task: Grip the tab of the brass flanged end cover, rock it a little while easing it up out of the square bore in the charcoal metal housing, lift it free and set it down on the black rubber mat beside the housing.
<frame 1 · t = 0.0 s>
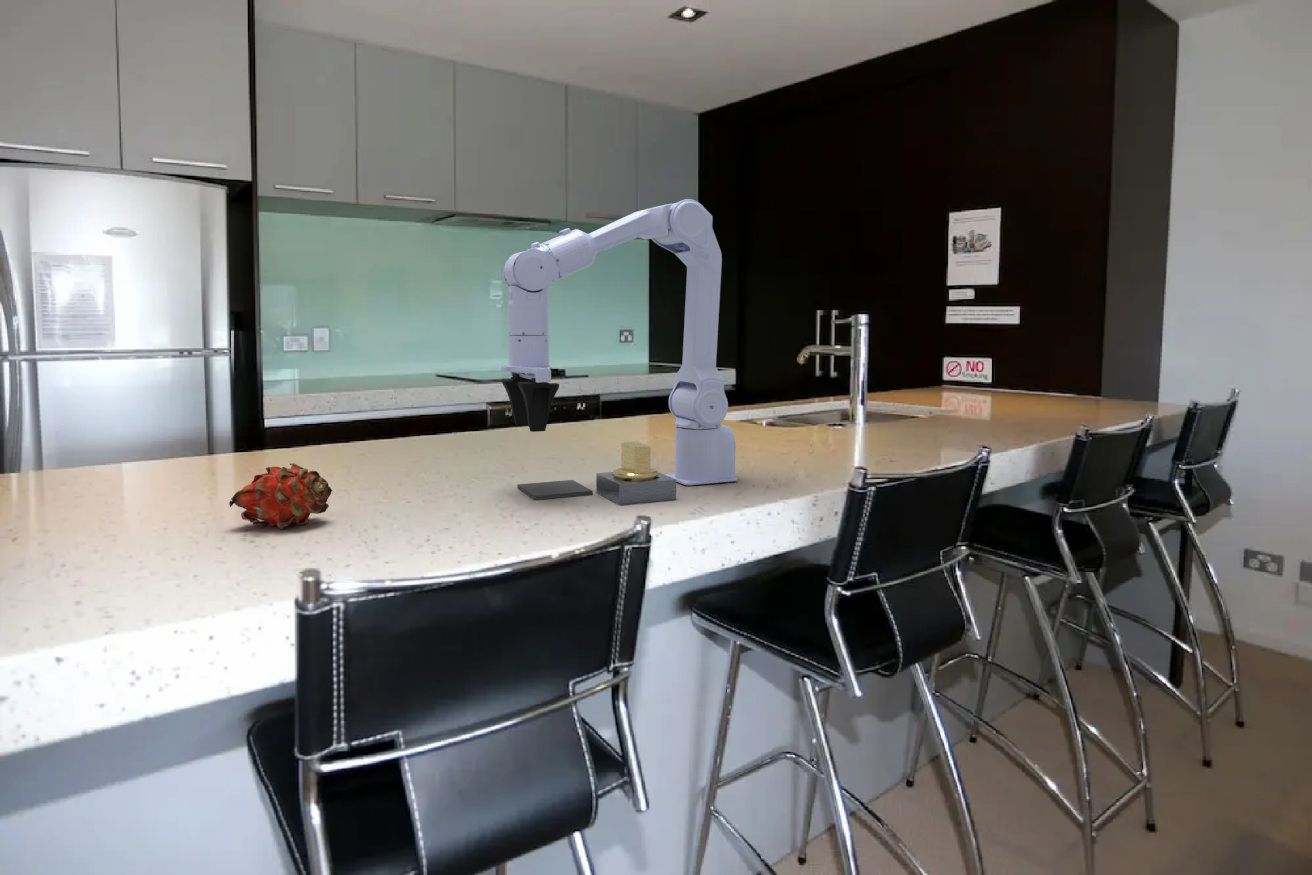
hand: (530, 427, 125), 10 cm above the counter, tool pointing down, fingers open, 7 cm apart
mat: (554, 491, 129), on the counter
dragon fruit: (283, 527, 107), on the counter
end cover: (635, 469, 125), in the housing
housing: (635, 496, 126), on the counter
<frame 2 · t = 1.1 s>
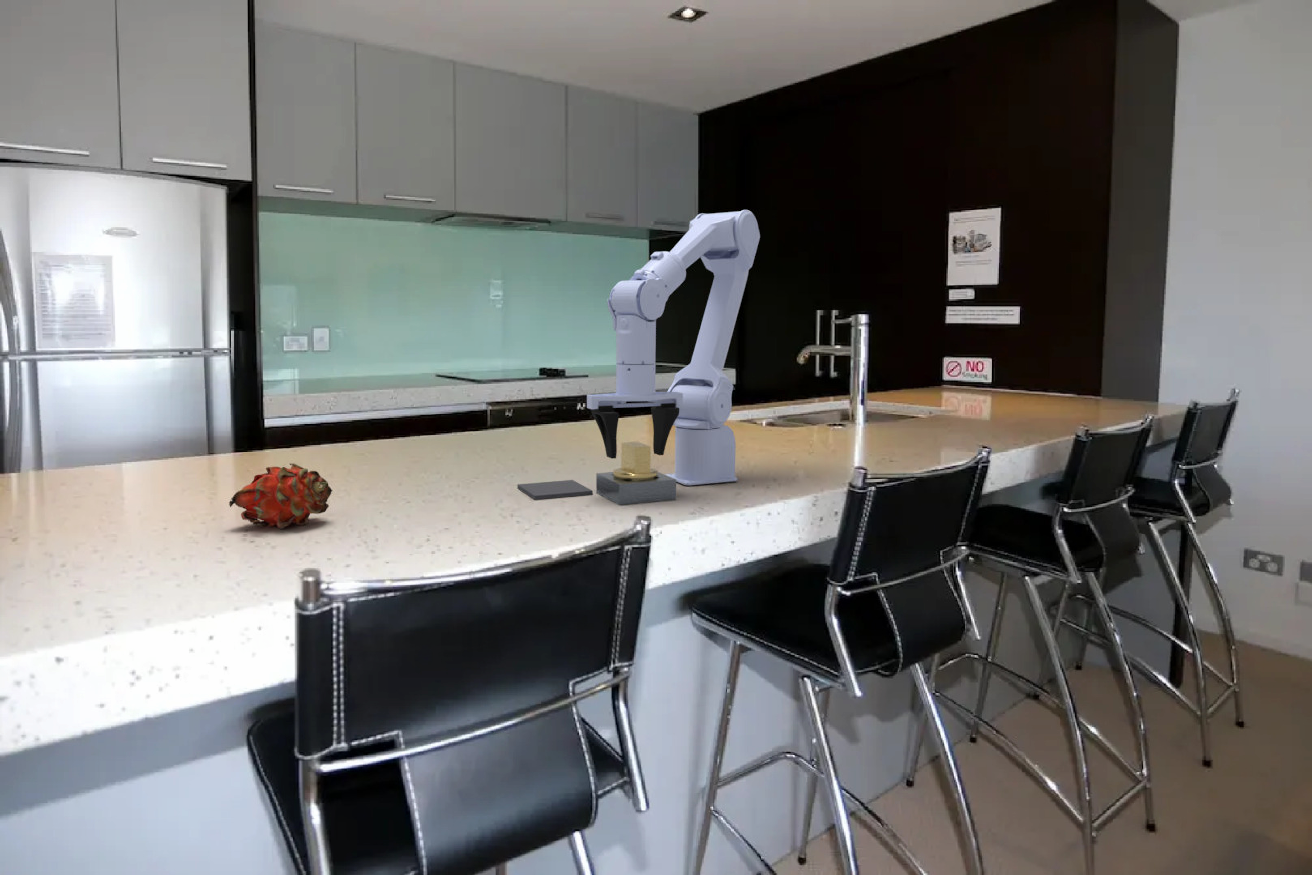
hand: (635, 455, 125), 6 cm above the counter, tool pointing down, fingers open, 7 cm apart
nothing on the counter moved.
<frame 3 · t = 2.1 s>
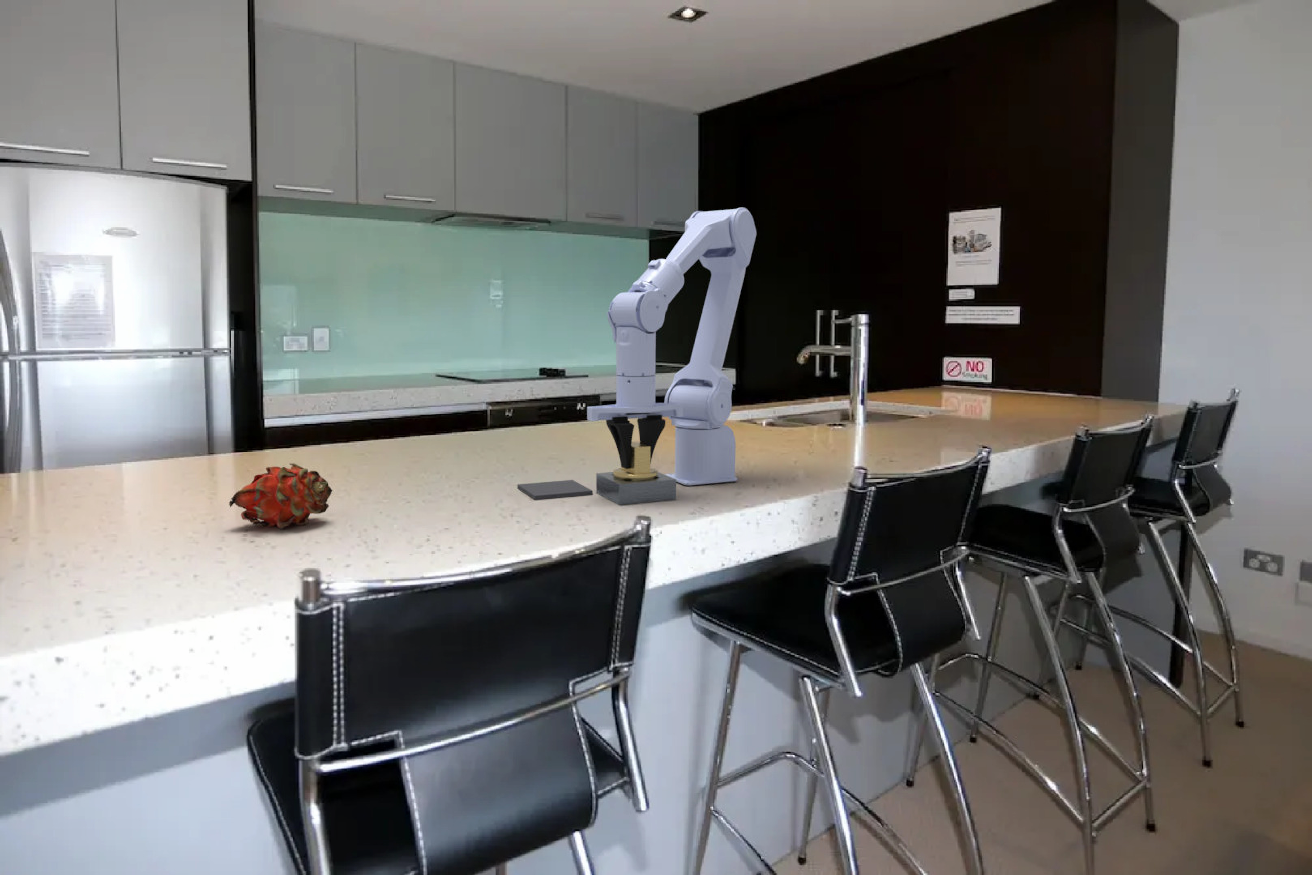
hand: (635, 467, 125), 4 cm above the counter, tool pointing down, fingers closed on end cover, 2 cm apart
end cover: (635, 469, 125), in the housing, touching gripper
everything else where it was.
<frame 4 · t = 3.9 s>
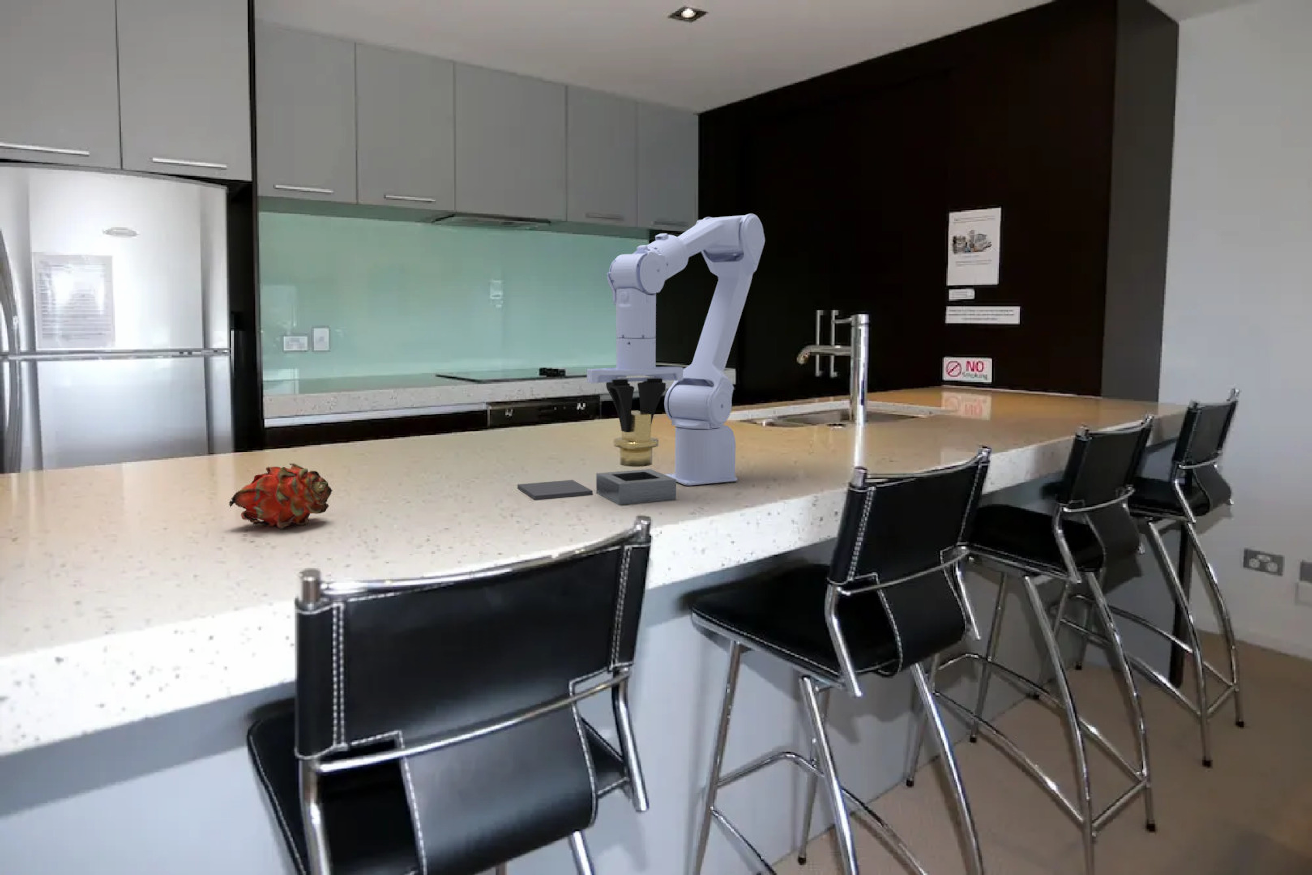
hand: (635, 430, 124), 10 cm above the counter, tool pointing down, fingers closed on end cover, 2 cm apart
end cover: (636, 438, 124), point 9 cm above the counter, touching gripper
everything else where it was.
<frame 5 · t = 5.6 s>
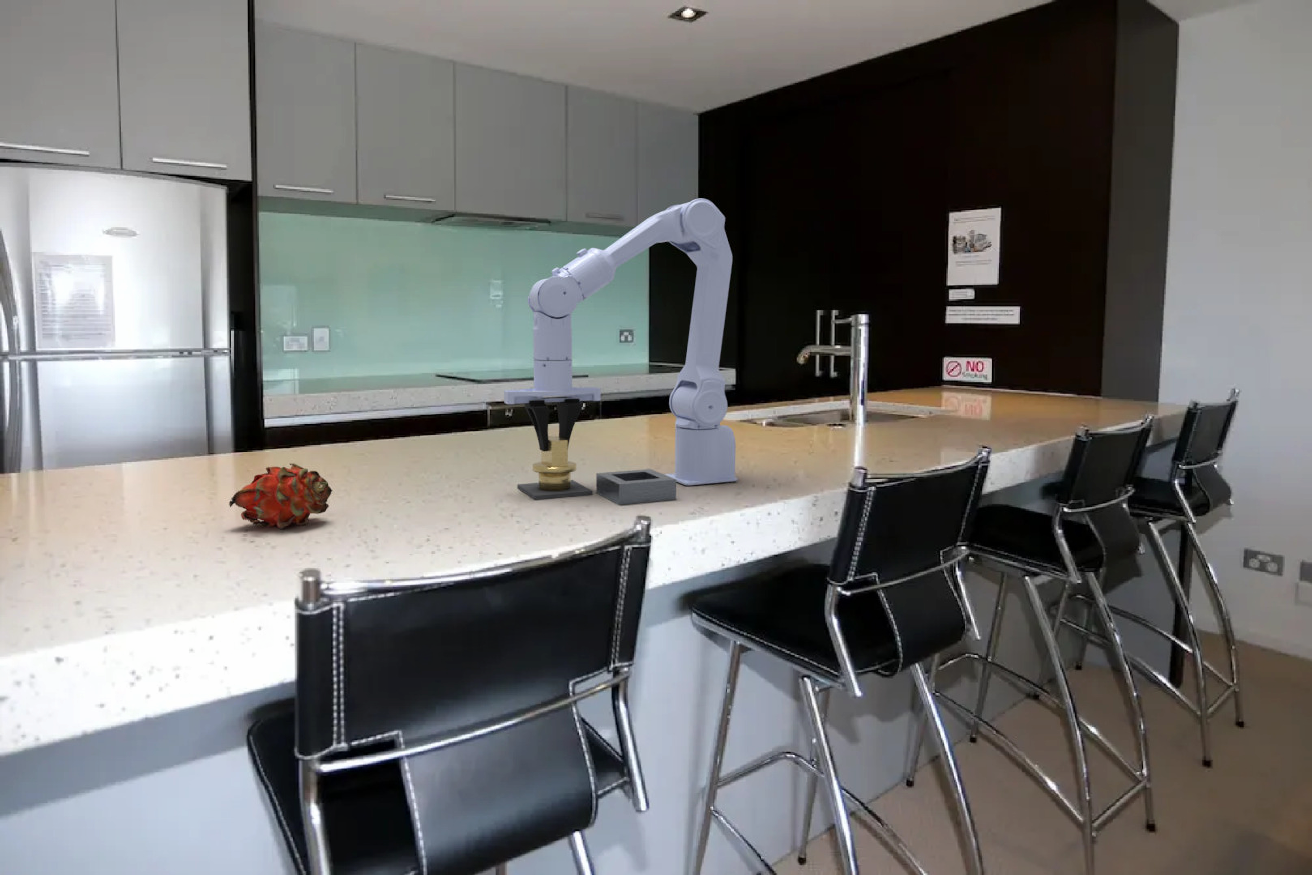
hand: (553, 449, 128), 6 cm above the counter, tool pointing down, fingers closed on end cover, 2 cm apart
end cover: (554, 463, 128), on the mat, point 4 cm above the counter, touching gripper
everything else where it was.
when the fingers open (6 cm above the counter, at t = 6.1 s): end cover stays where it is, resting on mat.
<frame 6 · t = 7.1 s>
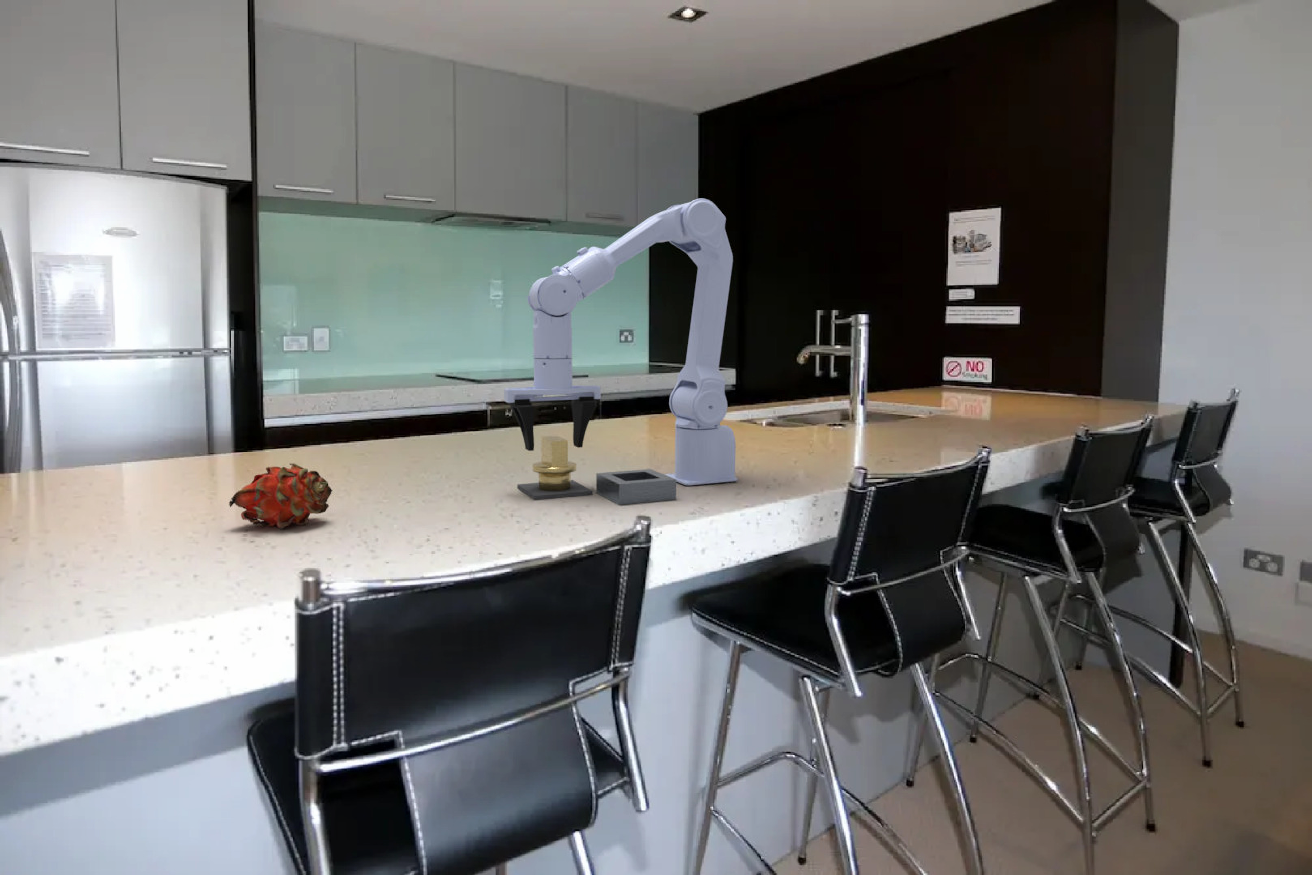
hand: (554, 448, 128), 7 cm above the counter, tool pointing down, fingers open, 7 cm apart
end cover: (554, 463, 128), on the mat, point 4 cm above the counter
everything else where it was.
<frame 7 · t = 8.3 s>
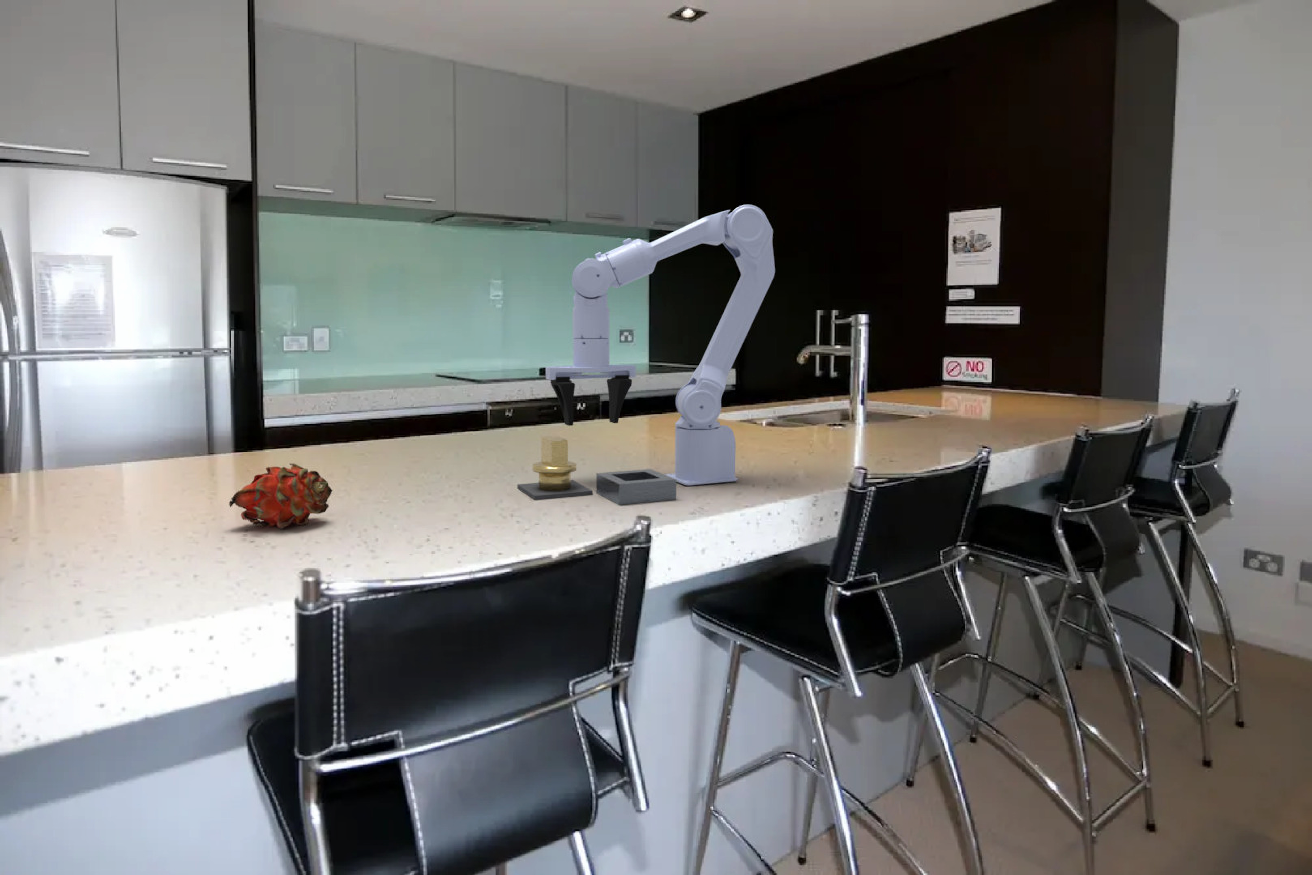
hand: (591, 423, 135), 9 cm above the counter, tool pointing down, fingers open, 7 cm apart
nothing on the counter moved.
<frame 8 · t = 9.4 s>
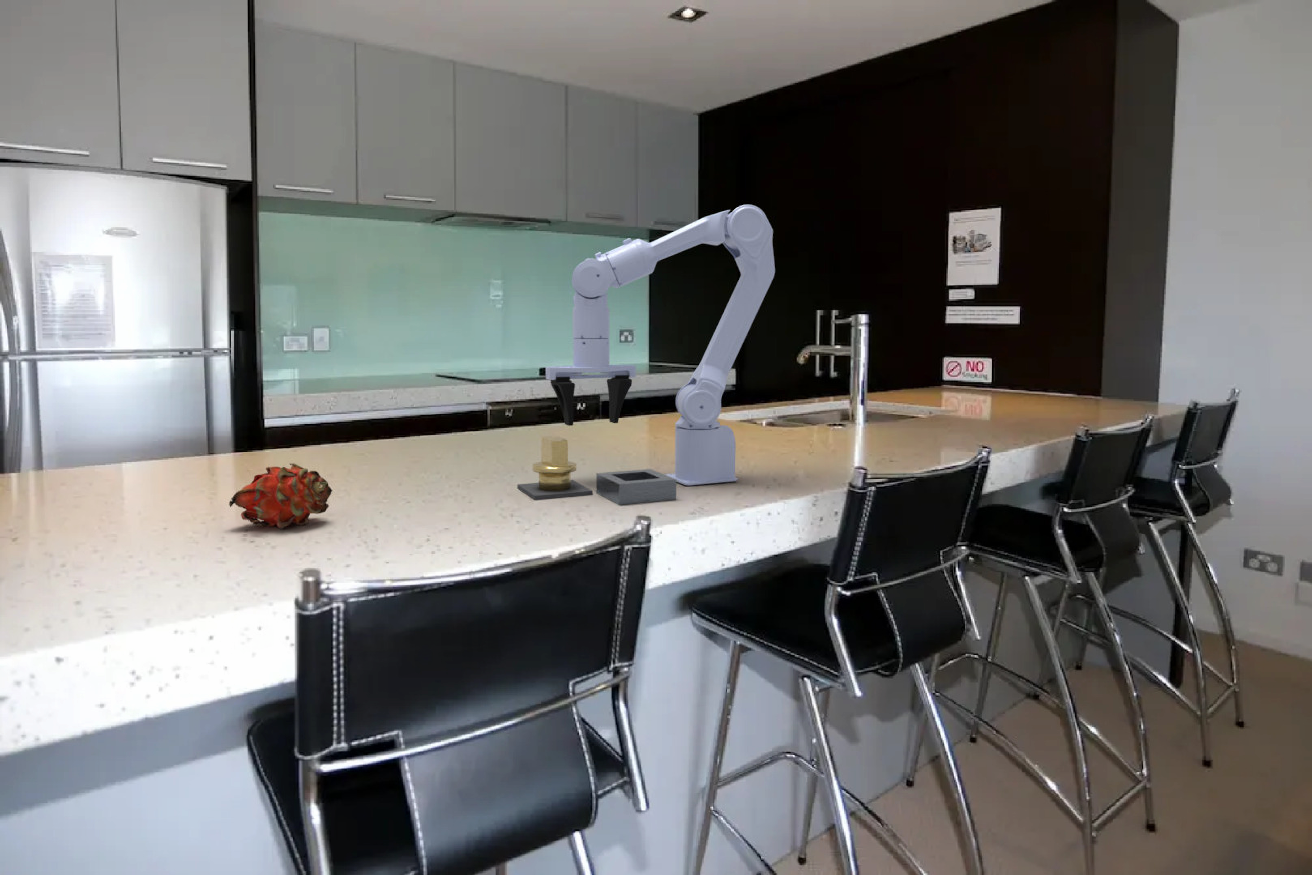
hand: (591, 423, 135), 9 cm above the counter, tool pointing down, fingers open, 7 cm apart
nothing on the counter moved.
at the end: end cover 0.3 cm off-centre on the mat, point 4.4 cm above the mat's base; end cover tilted 0°; the gripper is holding nothing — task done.
